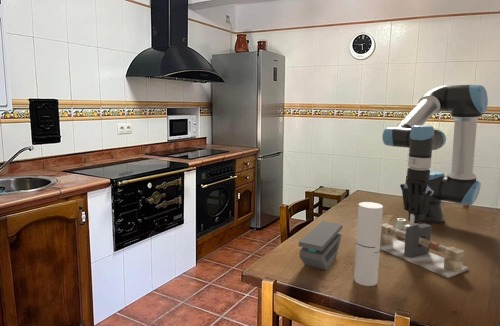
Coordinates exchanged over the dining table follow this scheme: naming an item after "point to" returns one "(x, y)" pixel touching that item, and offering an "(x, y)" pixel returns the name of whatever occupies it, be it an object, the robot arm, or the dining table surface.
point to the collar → (416, 240)
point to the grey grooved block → (321, 245)
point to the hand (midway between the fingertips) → (413, 230)
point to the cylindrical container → (368, 243)
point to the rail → (428, 260)
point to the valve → (401, 224)
